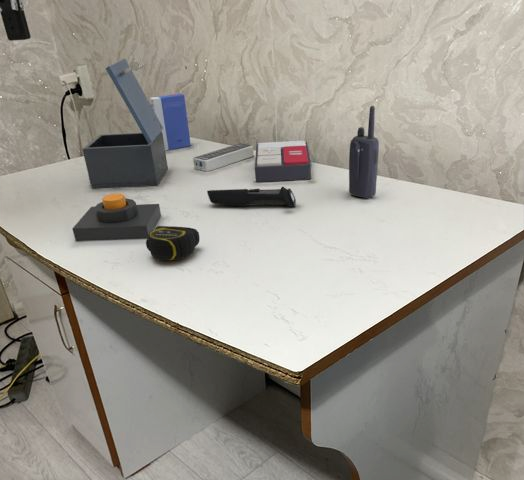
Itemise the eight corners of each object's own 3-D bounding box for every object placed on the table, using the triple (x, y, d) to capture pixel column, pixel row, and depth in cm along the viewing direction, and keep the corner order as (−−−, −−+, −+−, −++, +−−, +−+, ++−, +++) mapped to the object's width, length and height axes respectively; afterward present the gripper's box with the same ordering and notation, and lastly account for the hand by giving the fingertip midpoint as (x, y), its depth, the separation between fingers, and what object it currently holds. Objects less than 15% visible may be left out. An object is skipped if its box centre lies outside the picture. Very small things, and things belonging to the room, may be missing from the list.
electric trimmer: (211, 203, 98) (209, 186, 96) (296, 200, 96) (295, 183, 94) (207, 210, 95) (204, 193, 93) (294, 208, 93) (293, 190, 91)
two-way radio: (379, 196, 95) (386, 105, 87) (363, 202, 93) (367, 110, 85) (356, 189, 99) (360, 101, 90) (339, 195, 97) (342, 106, 88)
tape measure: (203, 247, 81) (200, 224, 79) (185, 267, 76) (181, 242, 74) (162, 244, 83) (158, 221, 81) (141, 263, 78) (137, 239, 75)
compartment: (91, 188, 109) (82, 148, 104) (107, 171, 118) (99, 134, 114) (157, 185, 108) (150, 145, 103) (168, 168, 117) (162, 131, 113)
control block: (75, 241, 86) (69, 217, 84) (94, 218, 94) (88, 196, 92) (148, 238, 85) (144, 214, 83) (161, 215, 93) (157, 193, 91)
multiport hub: (254, 155, 122) (253, 145, 121) (206, 171, 114) (205, 160, 112) (241, 153, 125) (240, 142, 123) (193, 168, 116) (192, 157, 115)
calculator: (254, 163, 104) (256, 140, 115) (255, 185, 106) (257, 160, 118) (311, 160, 103) (307, 137, 115) (311, 182, 106) (307, 157, 118)
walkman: (187, 143, 135) (180, 91, 128) (190, 146, 133) (184, 93, 126) (157, 149, 132) (148, 96, 125) (160, 151, 130) (151, 97, 123)
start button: (101, 211, 86) (99, 201, 85) (107, 204, 89) (105, 193, 88) (123, 210, 86) (121, 200, 85) (129, 203, 89) (127, 192, 88)
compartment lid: (105, 68, 96) (128, 54, 95) (121, 60, 106) (143, 47, 104) (148, 143, 103) (170, 132, 102) (160, 129, 113) (180, 119, 111)
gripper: (-21, -99, 84) (16, 37, 94) (-74, -112, 71) (-24, 45, 82) (26, -103, 83) (58, 34, 94) (-20, -117, 71) (23, 42, 81)
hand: (19, 39), depth 88 cm, fingers closed
